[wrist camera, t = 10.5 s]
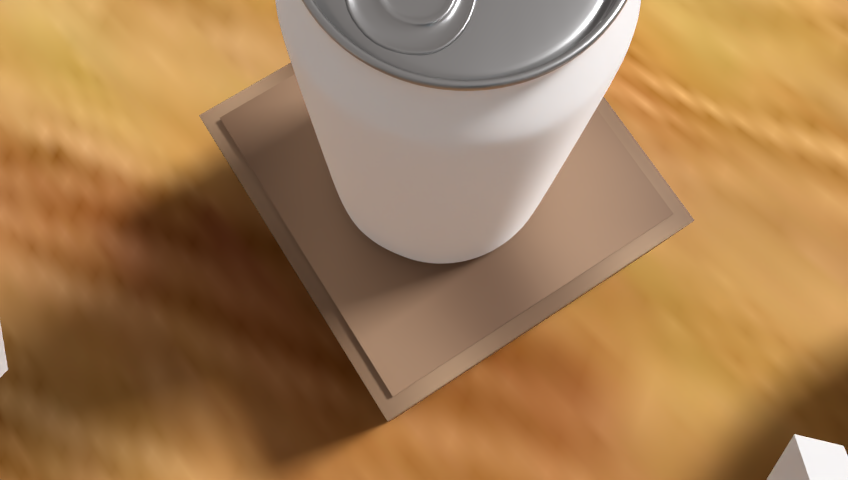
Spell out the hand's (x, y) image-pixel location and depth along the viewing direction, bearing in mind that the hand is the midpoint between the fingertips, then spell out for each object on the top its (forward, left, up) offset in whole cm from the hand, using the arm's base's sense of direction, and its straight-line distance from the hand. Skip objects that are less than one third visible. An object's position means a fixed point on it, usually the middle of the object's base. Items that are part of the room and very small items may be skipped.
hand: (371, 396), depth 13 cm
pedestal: (-3, -7, -15) cm, 16 cm away
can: (-3, -7, -10) cm, 12 cm away
